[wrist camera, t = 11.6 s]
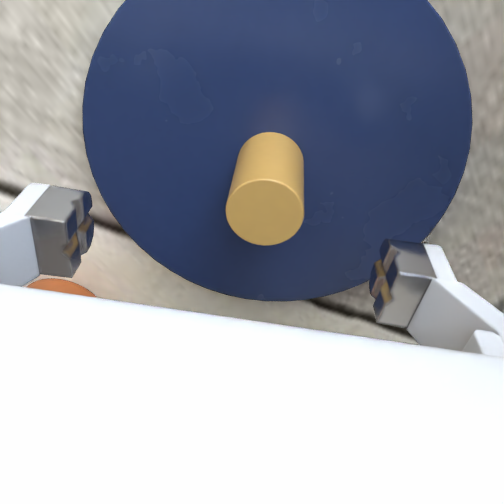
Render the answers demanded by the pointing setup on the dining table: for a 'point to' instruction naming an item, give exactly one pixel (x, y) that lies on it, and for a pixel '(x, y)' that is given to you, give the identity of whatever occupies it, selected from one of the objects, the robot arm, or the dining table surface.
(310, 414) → the robot arm
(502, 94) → the dining table surface
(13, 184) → the dining table surface
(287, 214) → the tin lid
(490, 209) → the dining table surface
